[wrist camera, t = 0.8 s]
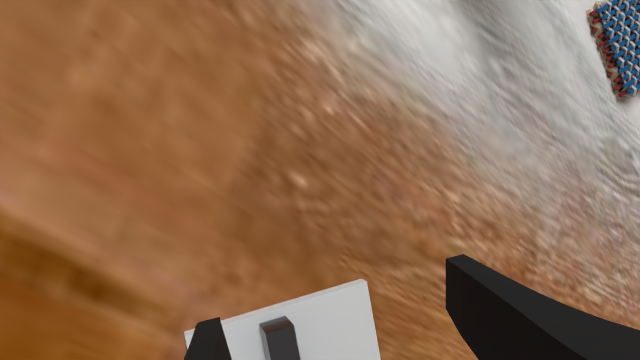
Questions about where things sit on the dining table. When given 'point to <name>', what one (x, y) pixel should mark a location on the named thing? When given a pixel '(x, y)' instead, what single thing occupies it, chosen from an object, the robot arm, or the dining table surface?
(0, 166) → the dining table surface
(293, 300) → the stand plate
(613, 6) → the woven mat
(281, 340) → the crank handle
